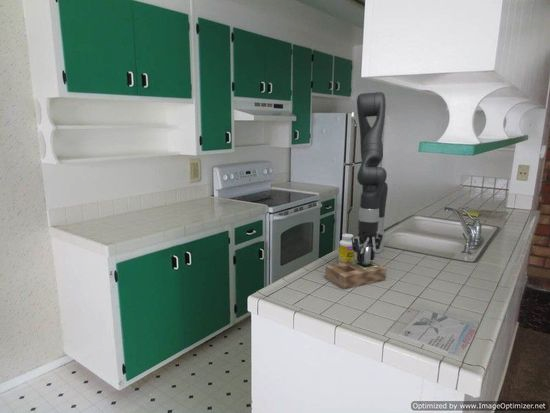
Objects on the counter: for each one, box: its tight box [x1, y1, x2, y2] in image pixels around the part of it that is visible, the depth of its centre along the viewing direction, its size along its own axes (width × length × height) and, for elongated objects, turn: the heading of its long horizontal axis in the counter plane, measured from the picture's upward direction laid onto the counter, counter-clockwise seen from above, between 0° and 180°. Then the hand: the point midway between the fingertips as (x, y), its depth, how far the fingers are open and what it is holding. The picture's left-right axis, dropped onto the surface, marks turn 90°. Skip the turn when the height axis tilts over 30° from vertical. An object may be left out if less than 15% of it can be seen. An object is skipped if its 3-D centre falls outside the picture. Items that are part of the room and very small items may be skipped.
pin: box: [361, 245, 371, 268], centre depth 155 cm, size 4×4×12 cm
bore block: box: [324, 259, 387, 290], centre depth 154 cm, size 20×12×5 cm, turn 117°
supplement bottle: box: [337, 233, 356, 264], centre depth 169 cm, size 7×7×13 cm
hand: (365, 260), depth 155 cm, fingers open, 5 cm apart
